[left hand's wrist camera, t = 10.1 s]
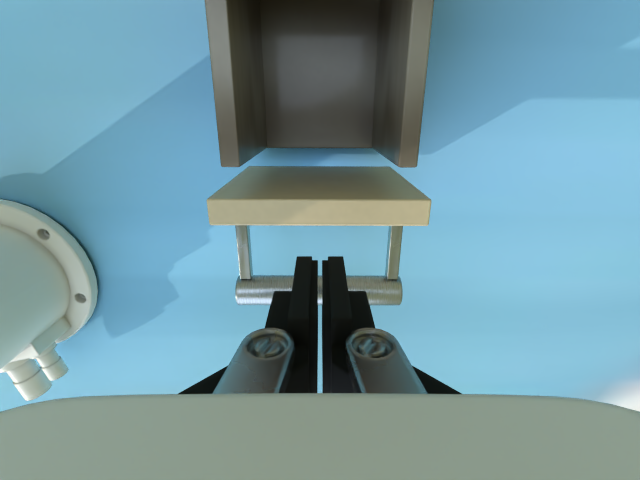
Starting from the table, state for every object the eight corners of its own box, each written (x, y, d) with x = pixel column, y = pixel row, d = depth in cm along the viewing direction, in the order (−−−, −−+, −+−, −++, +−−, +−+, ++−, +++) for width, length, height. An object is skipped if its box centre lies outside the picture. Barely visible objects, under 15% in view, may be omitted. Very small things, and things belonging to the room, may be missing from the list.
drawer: (383, 257, 26) (416, 332, 17) (254, 257, 26) (221, 331, 17) (414, -159, 17) (508, -424, 9) (225, -159, 17) (132, -426, 9)
